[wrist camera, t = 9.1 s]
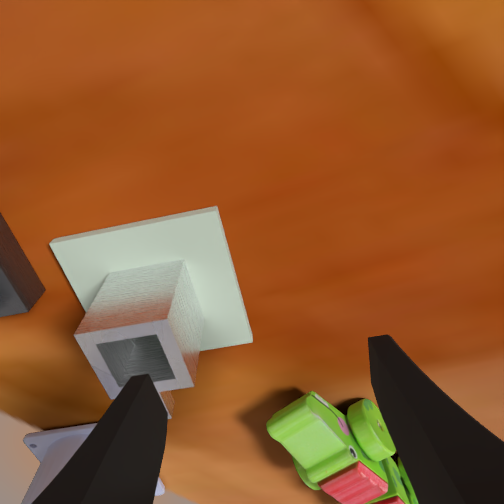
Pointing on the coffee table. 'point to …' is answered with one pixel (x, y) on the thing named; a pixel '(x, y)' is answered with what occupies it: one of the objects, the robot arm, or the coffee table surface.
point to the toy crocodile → (342, 451)
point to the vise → (16, 276)
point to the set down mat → (159, 251)
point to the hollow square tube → (144, 329)
